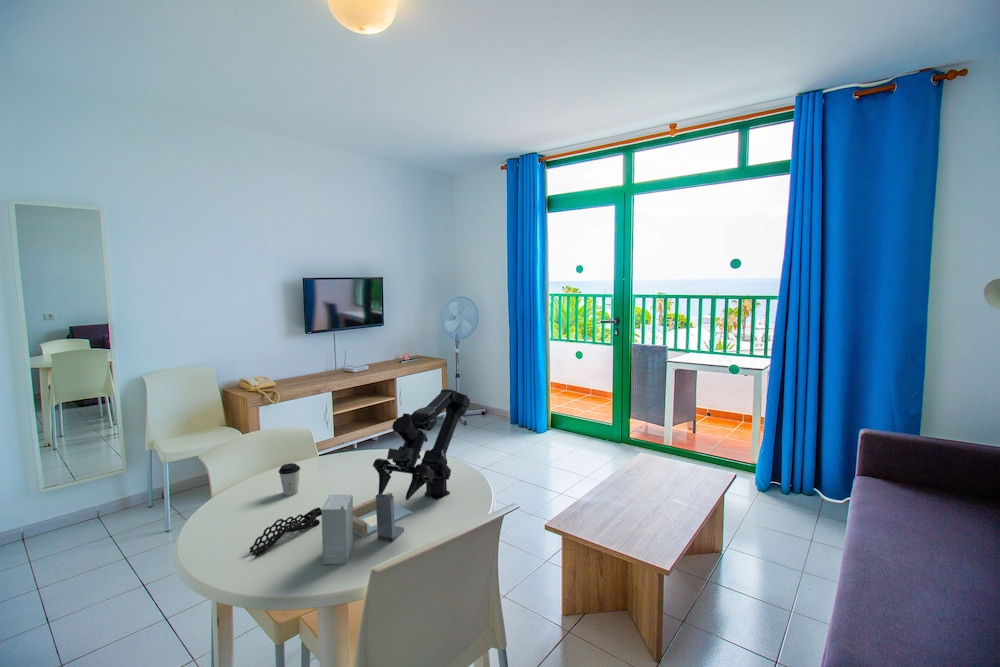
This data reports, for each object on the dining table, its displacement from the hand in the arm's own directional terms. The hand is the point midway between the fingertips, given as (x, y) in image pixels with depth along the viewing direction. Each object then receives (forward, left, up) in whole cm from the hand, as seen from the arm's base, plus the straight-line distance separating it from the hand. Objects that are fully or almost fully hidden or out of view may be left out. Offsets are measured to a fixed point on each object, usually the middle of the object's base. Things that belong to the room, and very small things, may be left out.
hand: (392, 497), depth 135 cm
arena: (-1, -11, -11) cm, 15 cm away
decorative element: (+21, -22, -11) cm, 32 cm away
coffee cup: (+8, -50, -11) cm, 51 cm away
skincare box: (+17, -2, -11) cm, 20 cm away
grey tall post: (+2, +1, -11) cm, 11 cm away
